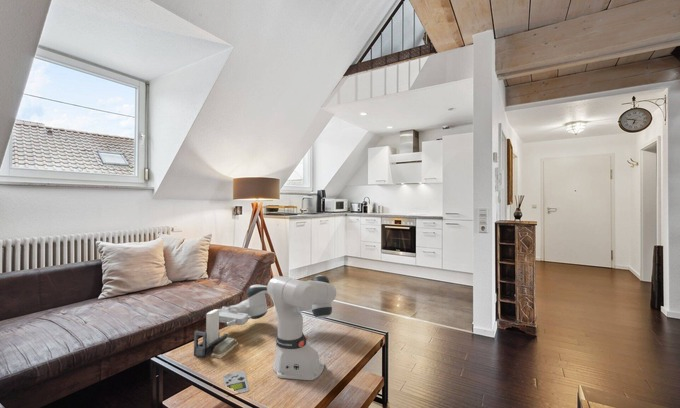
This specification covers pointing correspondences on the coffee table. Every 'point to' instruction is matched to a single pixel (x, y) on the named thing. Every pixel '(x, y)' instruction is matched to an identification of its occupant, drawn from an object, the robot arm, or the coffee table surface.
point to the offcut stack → (224, 347)
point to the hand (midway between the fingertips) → (219, 323)
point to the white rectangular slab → (212, 326)
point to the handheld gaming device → (236, 381)
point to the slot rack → (205, 344)
